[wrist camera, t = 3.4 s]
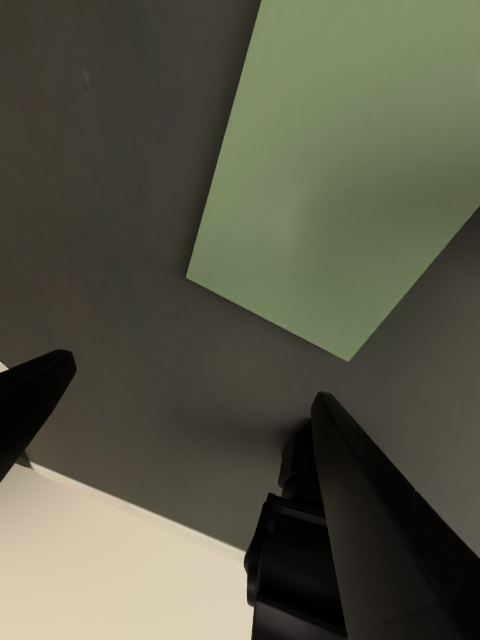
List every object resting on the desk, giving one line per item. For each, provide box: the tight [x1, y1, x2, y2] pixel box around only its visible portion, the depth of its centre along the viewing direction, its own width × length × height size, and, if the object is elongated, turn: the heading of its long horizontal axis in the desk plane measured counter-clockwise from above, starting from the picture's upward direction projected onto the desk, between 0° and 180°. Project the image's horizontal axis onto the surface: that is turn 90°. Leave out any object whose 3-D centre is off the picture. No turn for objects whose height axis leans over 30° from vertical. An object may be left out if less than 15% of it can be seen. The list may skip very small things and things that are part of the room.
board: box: [186, 0, 480, 362], centre depth 14 cm, size 14×18×2 cm
